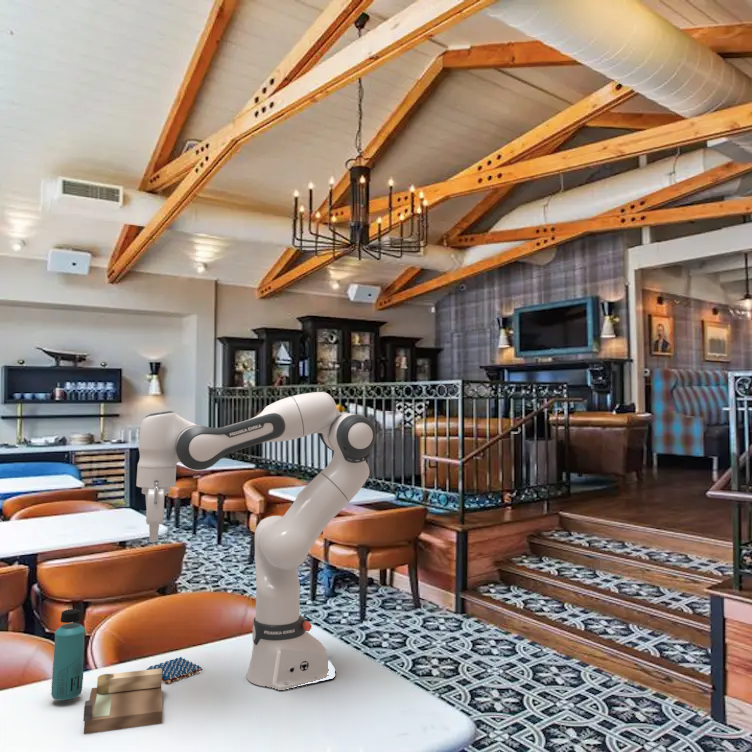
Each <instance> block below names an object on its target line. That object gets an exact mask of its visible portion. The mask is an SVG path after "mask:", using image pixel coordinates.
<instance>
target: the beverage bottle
mask: <svg viewBox="0 0 752 752" xmlns="http://www.w3.org/2000/svg"><path fill="white" fill-rule="evenodd" d="M81 617H82V616H81V609H78V608H70V609H69V608H68V609H65V610H63V611H62V612H61V616H60V622H61V623H64V624H62V625H61V626H60V627H58V628H57V629H56V630H55V632H54V648H53V649H54V650H53V662H52V671H51V675H52V676H51V685H50V686H51V693H50V695H51V697H52V698H53V699H54V700H56V701H64V700H65V701H66V700H71V699H74V698H77V697H78V696H80V695H81V693H82V691H83V684H84V673H85V672H84V667H85V666H84V656H85V647H86V646H85V645H86V644H85V635H86V634H85V632H86V628H85V627H84V626H83V625H82V624H80V623H77V622H79V621H80V620H81V619H82V618H81Z"/></svg>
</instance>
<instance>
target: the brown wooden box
mask: <svg viewBox="0 0 752 752" xmlns="http://www.w3.org/2000/svg"><path fill="white" fill-rule="evenodd" d="M162 697H163V695H162V686H161V687H156V688H147V689H139V690H130V691H122V692H113V693H107V694H98V693H97V687H91V689H90V694H89V698H88V700H85V702H84V706H83V709H84V710H83V722H84V723H83V724H84V726H83V727H84V728H83V735H87V734H94V733H101V732H107V731H108V732H109V731H115V730H121V729H129V728H137V727H144V726H152V725H159V724H163V700H162V699H163V698H162Z"/></svg>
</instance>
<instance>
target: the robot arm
mask: <svg viewBox="0 0 752 752" xmlns="http://www.w3.org/2000/svg"><path fill="white" fill-rule="evenodd" d="M313 434H317V435H318V436H319V438H320V440H321V442H322V443H323V445H324V446H325V447H326V448H328V449H329V450H331V451H332V452H333V456H332V458H331V460H330V462H329V463H328V465H326V467H325V468H324V469H322V470H321V471H320V472H319V473H318V474H317V475H316V476H315V477H314V478H313V479H312V480H311V481H310V482H309V483H308V484H307V485H306V486H305V487H304V488H303V489H302V490H301V491H300V492H298V494H297V496H296V498H295V499H294V501H293V502H292V504H291V505H290V507H289V508H288V509H287V510H286V512H285V513H284V515H272V516H267V517H265V518H264V519H262V520H261V521H260V522H259V523H258V524H257V526H256V528H255V532H254V561H255V563H254V564H255V565H254V567H255V581H256V584H255V585H256V591H255V592H256V594H255V595H256V596H255V617H254V618H253V622H252V623H253V625H252V643H253V645H252V652H251V658H250V663H249V667H248V670H247V673H246V679H247V680H248V682H250V683H252V684H254V685H256V686H259V687H265V686H267V687H266V688H271V687H272V688H271V689H273V688H275V689H274V690H276V689H278V690H277V691H279V690H283V689H287V688H292V687H294V686H298V685H301V684H305V683H308V682H313V681H316V680H320V679H323V678H326V677H327V676H329V675H327V673H328V671H329V669H328V660H329V659H328V654H327V651H326V648H325V646H324V644H322V642H321V641H320V640H319V639H317V638H316V637H315V636H313V635H312V634H311V633H309V631H311V629H312V624H311V623H310V621H308V620H307V619H306V618H305V617H303V616H302V615H300V601H301V600H300V599H301V598H300V597H301V585H300V580H299V579H300V578H299V570H298V567H300V566H302V564H303V563H304V562H305V561H306V560H307V558H308V556H309V555H308V554H309V552H310V550H311V549H312V548H313V546H314V544H315V543H316V542H317V540H318V538H319V537H320V535H321V534H322V533H323V531H324V530H325V529H326V527H327V526H328V525H329V523H330V522H331V521H332V520H334V518H335V517H336V516H338V515H339V513H340V512H341V511H342V510H343V509H344V508H345V507H346V506H347V505H348V504H349V503H350V502H351V501H352V500H353V498H354V497H355V496H356V495H357V494H358V493H359V491H360V490H361V488H362V487H363V486H364V485H365V483H366V482H367V480H368V478H369V477H370V468H369V465H368V463H367V460H368V459H369V457H370V455H371V452H372V450H373V447H374V446H375V443H376V439H377V430H376V427H375V425H374V423H373V422H372V421H371V420H370V419H369V418H367V417H366V416H364V415H361V414H356V413H351V412H346V413H345V412H340V411H339V409H338V408H337V403H336V402H335V399H334V398H333V396H331V394H329V393H327V392H326V391H325V392H324V391H314V392H313V391H312V392H307V393H301V394H295V395H292V396H291V395H290V396H288V397H285V398H281V399H278V400H276V401H274V402H272V403H270V404H269V405H266V406H265V407H264V409H263V410H262V411H261V412H260V413H259V414H258V415H256V416H254V417H252V418H250V419H246V420H244V421H239V422H236V423H233V424H230V425H225V426H221V427H210V426H204V425H199V424H196V423H193V422H192V421H189V420H187V419H186V418H184V417H181V416H180V415H179V414H177V413H176V411H173V410H167V411H160V412H153V413H150V414H147V415H146V416H145V417H144V418H143V419H142V421H141V423H140V430H139V436H138V451H139V460H138V462H137V466H136V467H137V470H136V484H135V485H136V486H135V487H138V488H141V494H143V495H145V506H146V507H145V508H146V513H145V522H146V525H148V526H149V527H148V529H149V538H148V539H149V540H148V541H149V542H150V543H157V542H158V539H159V536H158V535H159V531H160V530H159V529H160V525H162V524H163V522H164V517H165V515H164V513H165V496H166V495H168V494H170V492H171V488H173V487H176V482H177V481H176V479H177V478H176V477H177V464H178V463H181V464H182V465H183V466H184V467H186V468H187V469H190V470H193V471H203V470H207V469H209V468H212V467H213V466H214V465H215V464H217V463H218V462H219V461H220V460H221V459H223V457H225V456H226V455H229V454H231V453H234V452H237V451H240V450H243V449H246V448H249V447H252V446H253V447H254V446H256V445H259V444H263V443H277V442H278V443H280V442H287V441H292V440H296V439H300V438H304V437H306V436H310V435H313ZM327 659H328V660H327Z"/></svg>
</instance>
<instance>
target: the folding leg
mask: <svg viewBox="0 0 752 752" xmlns="http://www.w3.org/2000/svg"><path fill="white" fill-rule="evenodd" d="M162 682H163V681H162V668H160V669H151V670H146V669H142V670H141V669H140V670H133V671H132V670H131V671H125V672H114V673H105V674H101V675H99V676H97V683H96V684H97V685H96V688H97V693H98V694H107V693H113V692H122V691H130V690H139V689H147V688H156V687H161V688H162V685H163V683H162Z"/></svg>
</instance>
